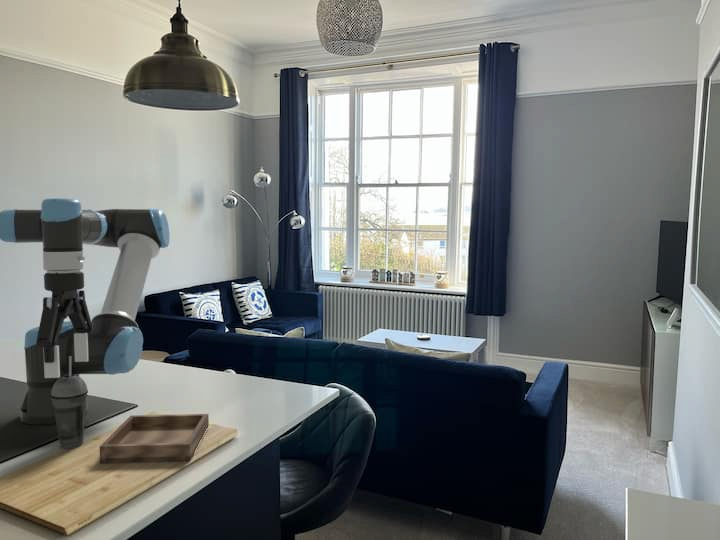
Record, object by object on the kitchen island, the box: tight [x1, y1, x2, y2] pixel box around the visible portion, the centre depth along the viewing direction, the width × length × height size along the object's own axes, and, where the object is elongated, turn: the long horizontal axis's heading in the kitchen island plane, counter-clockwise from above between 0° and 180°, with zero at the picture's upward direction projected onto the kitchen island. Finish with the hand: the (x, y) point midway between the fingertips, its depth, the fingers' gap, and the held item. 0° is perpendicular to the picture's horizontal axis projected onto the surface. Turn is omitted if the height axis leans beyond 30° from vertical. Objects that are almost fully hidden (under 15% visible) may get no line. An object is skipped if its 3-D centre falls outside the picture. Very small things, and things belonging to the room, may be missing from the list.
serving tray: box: [98, 413, 210, 464], centre depth 120 cm, size 18×18×4 cm
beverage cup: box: [51, 356, 89, 450], centre depth 119 cm, size 7×7×20 cm
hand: (67, 369), depth 118 cm, fingers open, 13 cm apart
